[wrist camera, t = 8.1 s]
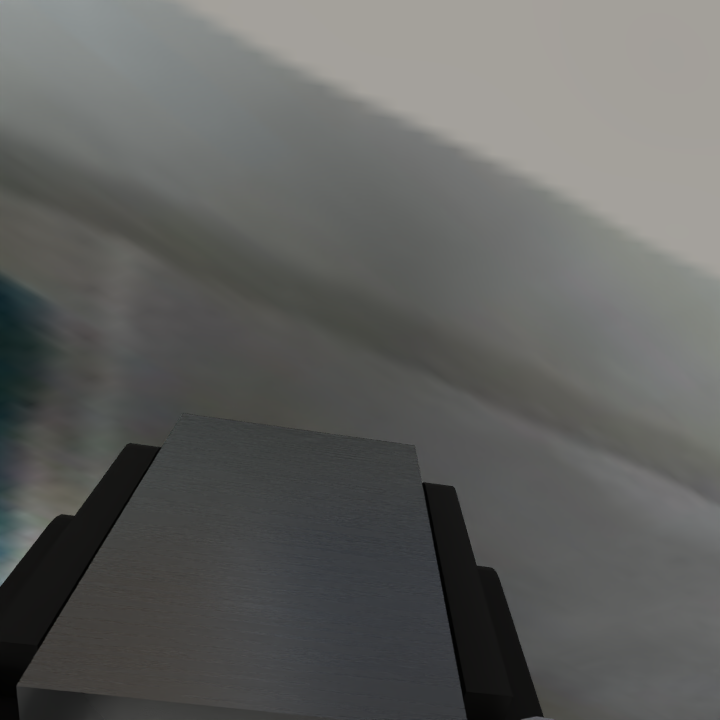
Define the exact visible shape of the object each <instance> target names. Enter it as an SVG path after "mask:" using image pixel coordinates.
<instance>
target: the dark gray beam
mask: <svg viewBox="0 0 720 720" xmlns="http://www.w3.org/2000/svg"><path fill="white" fill-rule="evenodd" d="M16 688H17V698H18V708H19V718H20V720H467V717H466V712H465V707H464V702H463V696H462V691H461V686H460V681H459V675H458V670H457V665H456V660H455V654H454V649H453V644H452V639H451V633H450V628H449V623H448V618H447V612H446V607H445V602H444V596H443V591H442V586H441V581H440V575H439V570H438V565H437V560H436V554H435V549H434V544H433V539H432V533H431V528H430V523H429V518H428V512H427V507H426V502H425V497H424V491H423V486H422V481H421V476H420V470H419V465H418V460H417V455H416V449H415V445H408V444H401V443H393V442H386V441H379V440H372V439H365V438H357V437H350V436H343V435H336V434H328V433H321V432H314V431H307V430H299V429H292V428H285V427H278V426H271V425H263V424H256V423H249V422H242V421H234V420H227V419H220V418H213V417H205V416H198V415H191V414H184V413H183V414H182V415H181V417H180V418H179V420H178V422H177V423H176V425H175V427H174V428H173V430H172V432H171V433H170V435H169V436H168V438H167V440H166V441H165V443H164V445H163V446H162V448H161V450H160V451H159V453H158V454H157V456H156V458H155V459H154V461H153V463H152V464H151V466H150V468H149V469H148V471H147V473H146V474H145V476H144V477H143V479H142V481H141V482H140V484H139V486H138V487H137V489H136V491H135V492H134V494H133V495H132V497H131V499H130V500H129V502H128V504H127V505H126V507H125V509H124V510H123V512H122V513H121V515H120V517H119V518H118V520H117V522H116V523H115V525H114V527H113V528H112V530H111V532H110V533H109V535H108V536H107V538H106V540H105V541H104V543H103V545H102V546H101V548H100V550H99V551H98V553H97V554H96V556H95V558H94V559H93V561H92V563H91V564H90V566H89V568H88V569H87V571H86V572H85V574H84V576H83V577H82V579H81V581H80V582H79V584H78V586H77V587H76V589H75V591H74V592H73V594H72V595H71V597H70V599H69V600H68V602H67V604H66V605H65V607H64V609H63V610H62V612H61V613H60V615H59V617H58V618H57V620H56V622H55V623H54V625H53V627H52V628H51V630H50V631H49V633H48V635H47V636H46V638H45V640H44V641H43V643H42V645H41V646H40V648H39V650H38V651H37V653H36V654H35V656H34V658H33V659H32V661H31V663H30V664H29V666H28V668H27V669H26V671H25V672H24V674H23V676H22V677H21V679H20V681H19V682H18V684H17V686H16Z"/></svg>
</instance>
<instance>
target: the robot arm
mask: <svg viewBox="0 0 720 720" xmlns="http://www.w3.org/2000/svg"><path fill="white" fill-rule="evenodd" d="M161 448H162V447H155V446H147V445H140V444H132V443H129V444H127V445H126V446H125V448H124V449H123V450H122V452H121V453H120V454H119V456H118V457H117V459H116V460H115V461H114V463H113V464H112V465H111V467H110V468H109V470H108V471H107V472H106V474H105V475H104V476H103V478H102V479H101V481H100V482H99V483H98V485H97V486H96V487H95V489H94V490H93V492H92V493H91V494H90V496H89V497H88V498H87V500H86V501H85V503H84V504H83V505H82V507H81V508H80V509H79V511H78V512H77V514H76V515H75V516H71V515H63V514H62V515H59V516H57V517H56V518H55V519H54V520H53V521H52V522H51V523H50V524H49V525H48V526H47V528H46V529H45V530H44V531H43V533H42V534H41V535H40V537H39V538H38V539H37V540H36V542H35V543H34V544H33V546H32V547H31V548H30V549H29V551H28V552H27V553H26V555H25V556H24V557H23V558H22V560H21V561H20V562H19V564H18V565H17V566H16V567H15V569H14V570H13V571H12V573H11V574H10V575H9V576H8V578H7V579H6V580H5V582H4V583H3V584H2V585H1V587H0V720H20V718H19V708H18V698H17V688H16V686H17V684H18V682H19V681H20V679H21V677H22V676H23V674H24V672H25V671H26V669H27V668H28V666H29V664H30V663H31V661H32V659H33V658H34V656H35V654H36V653H37V651H38V650H39V648H40V646H41V645H42V643H43V641H44V640H45V638H46V636H47V635H48V633H49V631H50V630H51V628H52V627H53V625H54V623H55V622H56V620H57V618H58V617H59V615H60V613H61V612H62V610H63V609H64V607H65V605H66V604H67V602H68V600H69V599H70V597H71V595H72V594H73V592H74V591H75V589H76V587H77V586H78V584H79V582H80V581H81V579H82V577H83V576H84V574H85V572H86V571H87V569H88V568H89V566H90V564H91V563H92V561H93V559H94V558H95V556H96V554H97V553H98V551H99V550H100V548H101V546H102V545H103V543H104V541H105V540H106V538H107V536H108V535H109V533H110V532H111V530H112V528H113V527H114V525H115V523H116V522H117V520H118V518H119V517H120V515H121V513H122V512H123V510H124V509H125V507H126V505H127V504H128V502H129V500H130V499H131V497H132V495H133V494H134V492H135V491H136V489H137V487H138V486H139V484H140V482H141V481H142V479H143V477H144V476H145V474H146V473H147V471H148V469H149V468H150V466H151V464H152V463H153V461H154V459H155V458H156V456H157V454H158V453H159V451H160V450H161ZM422 486H423V491H424V497H425V502H426V507H427V512H428V518H429V523H430V528H431V533H432V539H433V544H434V549H435V554H436V560H437V565H438V570H439V575H440V581H441V586H442V591H443V596H444V602H445V607H446V612H447V618H448V623H449V628H450V633H451V639H452V644H453V649H454V654H455V660H456V665H457V670H458V675H459V681H460V686H461V691H462V696H463V702H464V707H465V712H466V717H467V720H555V719H550V718H544V716H543V713H542V710H541V707H540V704H539V701H538V698H537V695H536V691H535V688H534V685H533V682H532V679H531V676H530V673H529V670H528V667H527V664H526V660H525V657H524V654H523V651H522V648H521V645H520V642H519V639H518V636H517V632H516V629H515V626H514V623H513V620H512V617H511V614H510V611H509V608H508V604H507V601H506V598H505V595H504V592H503V589H502V586H501V583H500V580H499V577H498V575H497V573H496V571H495V570H494V569H493V568H490V567H482V566H477V565H476V562H475V558H474V555H473V551H472V548H471V544H470V540H469V537H468V533H467V530H466V526H465V522H464V519H463V515H462V512H461V508H460V505H459V501H458V497H457V494H456V490H455V488H454V487H453V486H447V485H439V484H432V483H424V482H423V483H422Z"/></svg>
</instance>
